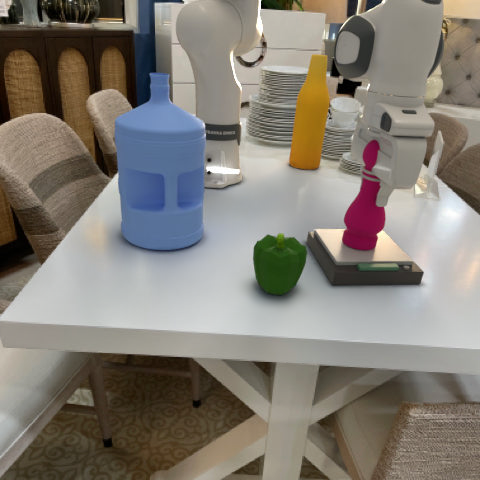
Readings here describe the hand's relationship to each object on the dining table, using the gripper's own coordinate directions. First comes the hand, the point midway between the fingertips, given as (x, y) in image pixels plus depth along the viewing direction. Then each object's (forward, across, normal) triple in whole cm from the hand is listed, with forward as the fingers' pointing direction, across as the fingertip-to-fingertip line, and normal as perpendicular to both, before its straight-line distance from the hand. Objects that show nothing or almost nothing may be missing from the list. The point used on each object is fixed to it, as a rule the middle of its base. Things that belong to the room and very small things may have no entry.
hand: (372, 198), depth 82 cm
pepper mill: (+9, 0, -1) cm, 9 cm away
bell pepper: (+12, +10, -18) cm, 24 cm away
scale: (+12, +1, 0) cm, 12 cm away
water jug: (+12, -11, -36) cm, 40 cm away
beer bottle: (+12, -63, +6) cm, 65 cm away
